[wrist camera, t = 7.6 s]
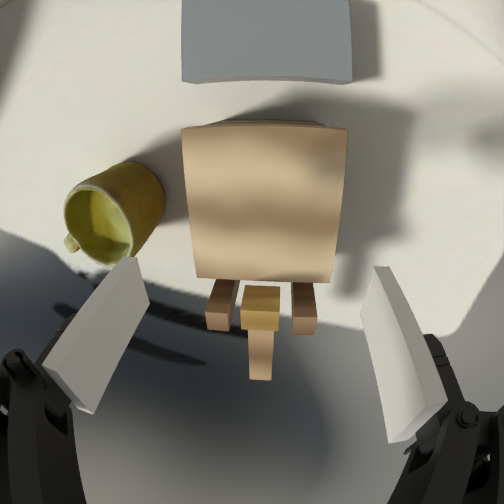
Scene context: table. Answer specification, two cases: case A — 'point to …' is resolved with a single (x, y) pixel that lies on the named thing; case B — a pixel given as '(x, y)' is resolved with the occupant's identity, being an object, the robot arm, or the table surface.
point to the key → (260, 327)
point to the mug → (113, 213)
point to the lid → (264, 200)
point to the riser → (266, 41)
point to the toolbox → (227, 289)
